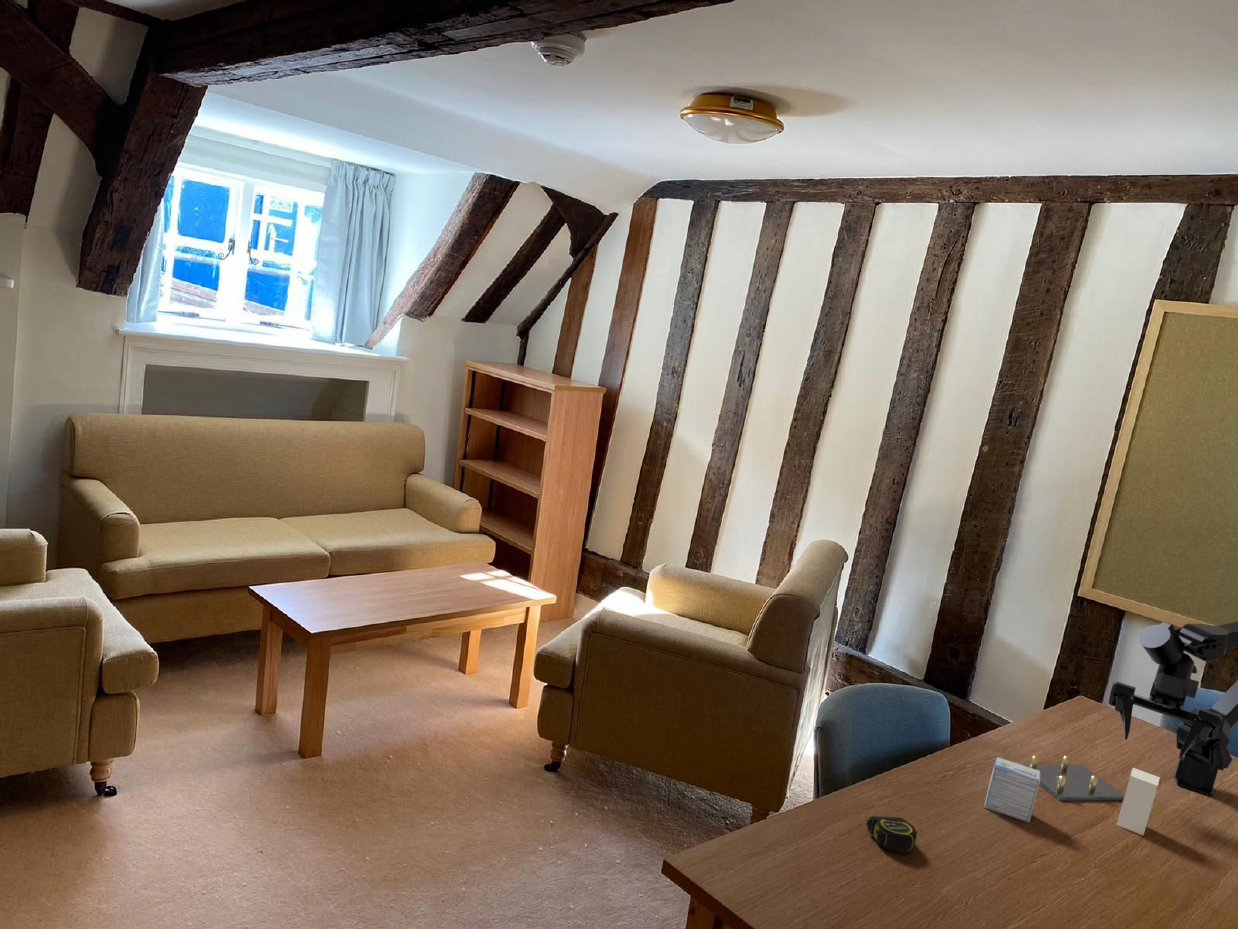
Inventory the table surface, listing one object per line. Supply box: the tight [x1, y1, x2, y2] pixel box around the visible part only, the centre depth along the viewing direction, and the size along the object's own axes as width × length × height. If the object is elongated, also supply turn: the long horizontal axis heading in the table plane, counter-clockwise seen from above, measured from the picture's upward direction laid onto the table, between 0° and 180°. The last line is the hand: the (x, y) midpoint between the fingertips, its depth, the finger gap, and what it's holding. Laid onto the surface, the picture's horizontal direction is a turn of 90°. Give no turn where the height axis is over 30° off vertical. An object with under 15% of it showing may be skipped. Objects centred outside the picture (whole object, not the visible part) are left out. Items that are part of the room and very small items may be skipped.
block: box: [1116, 767, 1161, 836], centre depth 177 cm, size 4×4×10 cm
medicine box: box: [983, 756, 1041, 823], centre depth 175 cm, size 8×4×9 cm, turn 65°
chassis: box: [1022, 754, 1125, 802], centre depth 191 cm, size 16×12×4 cm
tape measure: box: [865, 815, 918, 853], centre depth 158 cm, size 7×7×4 cm
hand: (1152, 747), depth 182 cm, fingers open, 9 cm apart
